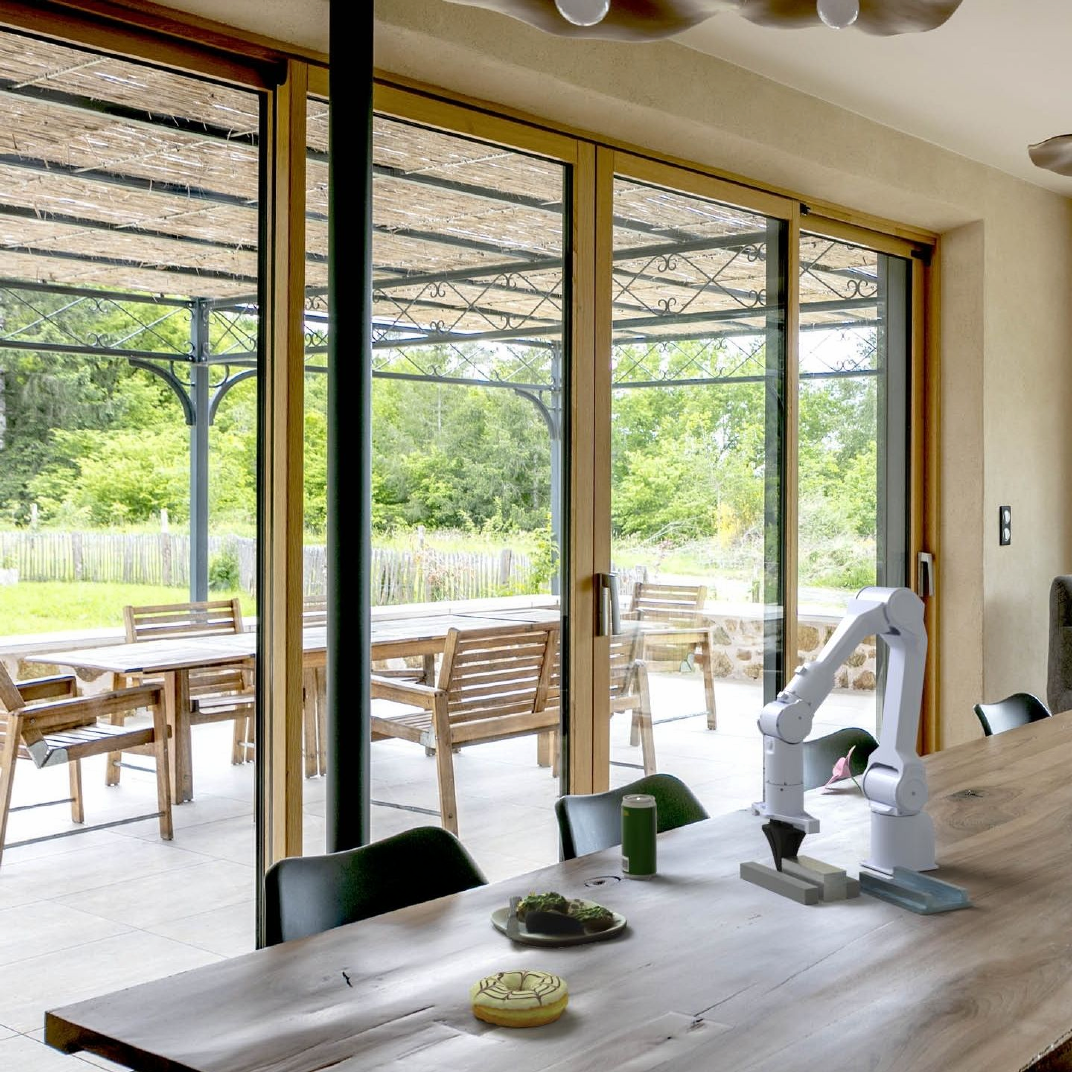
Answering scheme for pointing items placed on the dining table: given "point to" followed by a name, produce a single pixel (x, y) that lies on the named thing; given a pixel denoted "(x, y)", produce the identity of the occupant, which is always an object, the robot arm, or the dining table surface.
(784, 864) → the rectangular block
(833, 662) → the robot arm
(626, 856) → the beer can
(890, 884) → the cradle
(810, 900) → the grey bars
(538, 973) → the decorated donut
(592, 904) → the salad plate
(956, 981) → the dining table surface
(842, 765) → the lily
